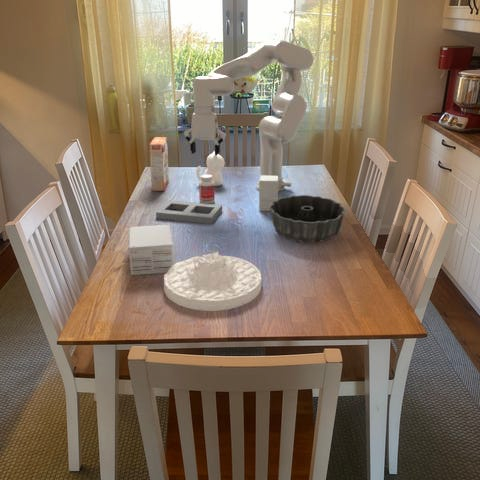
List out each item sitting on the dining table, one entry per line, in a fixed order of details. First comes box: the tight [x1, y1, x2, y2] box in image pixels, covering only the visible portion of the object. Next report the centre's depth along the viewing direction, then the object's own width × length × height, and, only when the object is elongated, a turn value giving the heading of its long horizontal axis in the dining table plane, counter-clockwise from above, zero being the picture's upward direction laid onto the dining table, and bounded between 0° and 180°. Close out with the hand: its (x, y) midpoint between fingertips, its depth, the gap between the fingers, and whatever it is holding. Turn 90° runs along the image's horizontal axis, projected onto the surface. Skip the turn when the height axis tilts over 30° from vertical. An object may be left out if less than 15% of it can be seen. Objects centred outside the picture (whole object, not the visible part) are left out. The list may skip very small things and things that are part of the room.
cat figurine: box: [196, 150, 226, 187], centre depth 235 cm, size 9×12×15 cm
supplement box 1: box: [128, 224, 175, 276], centre depth 164 cm, size 17×13×9 cm
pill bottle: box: [198, 174, 215, 204], centre depth 215 cm, size 6×6×11 cm
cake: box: [163, 250, 262, 312], centre depth 150 cm, size 28×28×10 cm
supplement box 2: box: [258, 175, 279, 212], centre depth 208 cm, size 7×7×13 cm
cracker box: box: [149, 136, 170, 192], centre depth 231 cm, size 14×6×21 cm, turn 179°
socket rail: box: [155, 200, 223, 225], centre depth 203 cm, size 22×14×2 cm, turn 76°
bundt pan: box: [270, 194, 346, 244], centre depth 185 cm, size 26×26×10 cm
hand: (205, 153), depth 209 cm, fingers open, 9 cm apart
